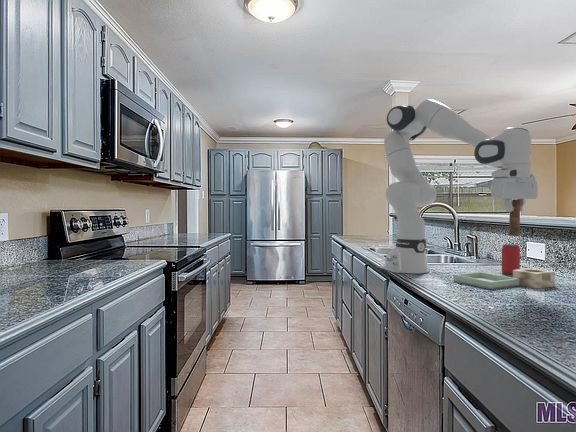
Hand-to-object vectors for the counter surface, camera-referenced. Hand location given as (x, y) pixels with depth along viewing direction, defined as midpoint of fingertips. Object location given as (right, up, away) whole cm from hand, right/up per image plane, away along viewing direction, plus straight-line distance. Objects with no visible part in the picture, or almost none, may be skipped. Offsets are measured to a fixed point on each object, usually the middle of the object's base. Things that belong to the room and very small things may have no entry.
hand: (514, 211), depth 136 cm
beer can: (+12, -26, +22) cm, 36 cm away
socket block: (+6, -26, -1) cm, 27 cm away
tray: (-9, -26, +2) cm, 28 cm away
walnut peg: (0, -9, 0) cm, 9 cm away
